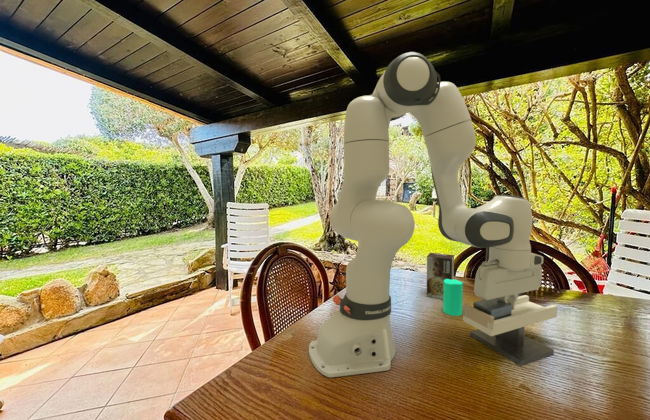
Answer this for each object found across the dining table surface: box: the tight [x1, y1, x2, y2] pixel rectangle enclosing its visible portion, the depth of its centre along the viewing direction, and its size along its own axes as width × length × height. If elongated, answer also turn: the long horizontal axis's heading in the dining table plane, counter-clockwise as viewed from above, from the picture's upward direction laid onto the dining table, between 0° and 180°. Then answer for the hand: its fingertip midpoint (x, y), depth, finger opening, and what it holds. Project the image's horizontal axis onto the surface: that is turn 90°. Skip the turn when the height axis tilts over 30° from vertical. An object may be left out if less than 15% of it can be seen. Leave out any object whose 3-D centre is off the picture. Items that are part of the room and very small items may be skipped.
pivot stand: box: [469, 327, 555, 367], centre depth 71 cm, size 12×14×6 cm
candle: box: [442, 276, 464, 317], centre depth 90 cm, size 6×6×12 cm
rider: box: [472, 298, 512, 320], centre depth 68 cm, size 7×5×4 cm
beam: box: [462, 294, 558, 336], centre depth 70 cm, size 24×8×4 cm, turn 110°
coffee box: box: [426, 252, 455, 300], centre depth 103 cm, size 9×6×16 cm
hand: (507, 309), depth 70 cm, fingers closed
